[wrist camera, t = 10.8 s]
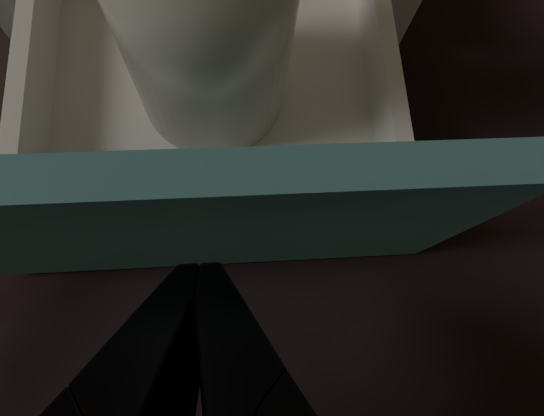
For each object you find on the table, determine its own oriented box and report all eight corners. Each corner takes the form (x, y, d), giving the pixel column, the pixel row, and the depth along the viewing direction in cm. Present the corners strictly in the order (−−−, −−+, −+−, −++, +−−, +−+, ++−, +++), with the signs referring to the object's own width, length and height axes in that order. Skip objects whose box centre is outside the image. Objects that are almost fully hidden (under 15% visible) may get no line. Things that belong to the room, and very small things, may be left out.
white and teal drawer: (416, 253, 16) (568, 182, 9) (13, 274, 15) (-227, 214, 8) (376, -5, 19) (460, -225, 12) (42, -2, 18) (-105, -241, 11)
